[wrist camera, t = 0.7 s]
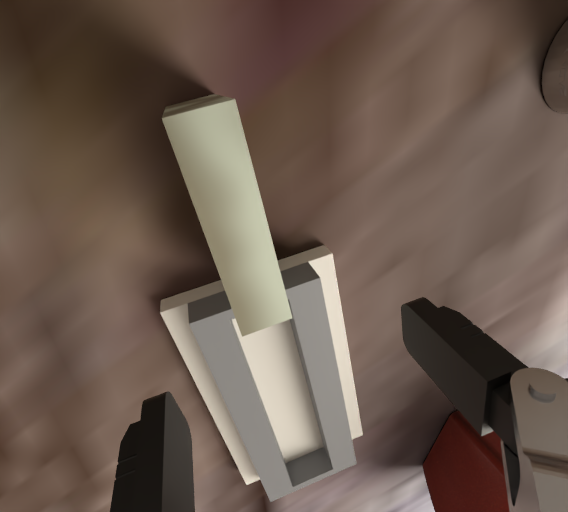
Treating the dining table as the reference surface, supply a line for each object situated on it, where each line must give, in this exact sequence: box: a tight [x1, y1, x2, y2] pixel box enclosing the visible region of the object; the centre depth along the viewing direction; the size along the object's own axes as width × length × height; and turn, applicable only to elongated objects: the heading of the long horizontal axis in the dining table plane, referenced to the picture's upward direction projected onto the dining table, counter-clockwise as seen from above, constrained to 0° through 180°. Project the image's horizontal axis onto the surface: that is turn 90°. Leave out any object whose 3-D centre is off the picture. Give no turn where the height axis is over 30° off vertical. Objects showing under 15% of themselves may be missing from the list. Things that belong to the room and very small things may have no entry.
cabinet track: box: [160, 245, 363, 502], centre depth 37 cm, size 16×28×5 cm, turn 13°
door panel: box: [162, 94, 292, 337], centre depth 24 cm, size 4×14×10 cm, turn 13°
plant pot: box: [423, 411, 509, 512], centre depth 50 cm, size 19×19×17 cm
